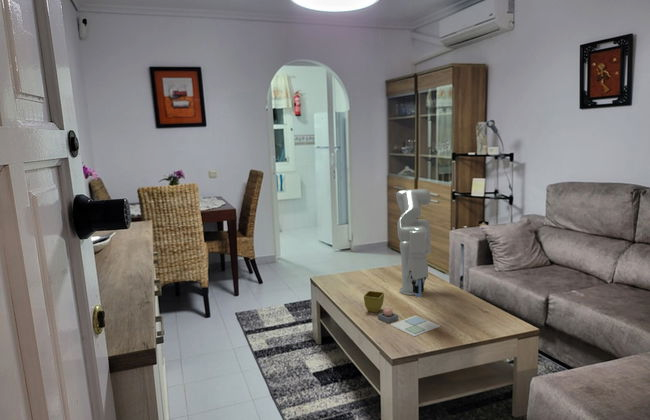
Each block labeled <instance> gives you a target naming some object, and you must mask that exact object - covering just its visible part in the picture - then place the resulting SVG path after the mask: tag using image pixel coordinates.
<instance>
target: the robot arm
mask: <svg viewBox="0 0 650 420" xmlns="http://www.w3.org/2000/svg"><path fill="white" fill-rule="evenodd" d="M395 198H396V203H397V204H398V208H399V210H400V216H399V217H398V221H397V224H396V225H397V227H396V228H397V237H398V239H399V241H400V242H399V251H400V256H401V257H400V258H401V285H402V286H401V287H400V288H399V293H401V294H402V295H405V296H416V293H417V294H418V293H419V286H418V279H421V293H424V292H425V288H424V286H425V281H427V280H426V279H428V277H429V267H428V266H429V265H428V260H427V255H429V254H431V252H432V251H431V250H432V241H431V239H432V237H431V226H430V222H429V220H428V219H425V218H422V219H421V218H419V217H421V215H422V208H421V206H426V205H430V204H431V202H432V201H431V200H432V196H431V192H430V190H429V189H427V188H418V189H417V188H416V189H415V188H413V189H412V188H411V189H402V190H401V189H400V190H398V191H397V192H396V196H395Z"/></svg>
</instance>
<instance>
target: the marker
mask: <svg viewBox="0 0 650 420" xmlns="http://www.w3.org/2000/svg"><path fill="white" fill-rule="evenodd" d="M418 286H419V293H418V294H417V293H416V295H415V297H417V298H421V297H422V292H421V279H418Z"/></svg>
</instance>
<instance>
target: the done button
mask: <svg viewBox="0 0 650 420" xmlns="http://www.w3.org/2000/svg"><path fill="white" fill-rule="evenodd" d="M383 313H384V316H388V317H389V316H392V315H393V313H394V311H393V309H392V308H391V307H385V308H383Z"/></svg>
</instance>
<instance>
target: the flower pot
mask: <svg viewBox="0 0 650 420" xmlns="http://www.w3.org/2000/svg"><path fill="white" fill-rule="evenodd" d="M384 300H385V292H382V291H374V290H368V291H367V292H366V293H365V294H363V301H364V306H365V308H366V310H367V311H368V312H372V313H379V311H380V310H381V308H382V306H383V305H384V304H383V303H384Z"/></svg>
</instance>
